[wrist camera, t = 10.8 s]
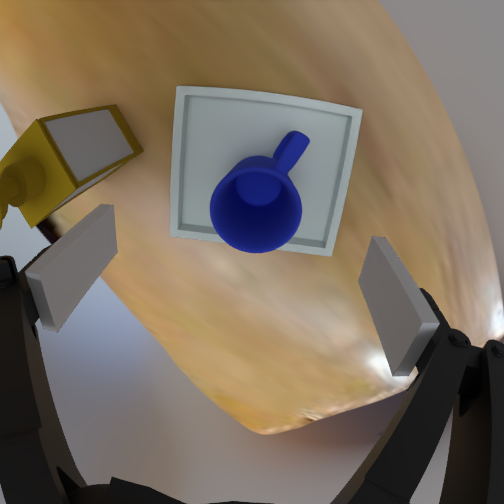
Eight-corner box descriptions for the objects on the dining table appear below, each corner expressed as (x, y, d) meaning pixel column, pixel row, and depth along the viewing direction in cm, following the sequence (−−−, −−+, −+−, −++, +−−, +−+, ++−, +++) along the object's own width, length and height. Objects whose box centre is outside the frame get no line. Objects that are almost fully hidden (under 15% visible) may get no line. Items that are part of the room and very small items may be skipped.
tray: (182, 86, 32) (176, 85, 30) (356, 108, 32) (362, 109, 30) (175, 227, 40) (169, 236, 38) (327, 246, 41) (331, 256, 38)
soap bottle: (97, 71, 31) (-55, 81, 10) (143, 151, 36) (14, 231, 15) (59, 104, 33) (-85, 144, 12) (102, 179, 38) (-23, 272, 17)
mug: (326, 145, 34) (346, 163, 25) (269, 226, 39) (270, 268, 30) (264, 106, 32) (263, 109, 24) (211, 193, 37) (193, 226, 29)
